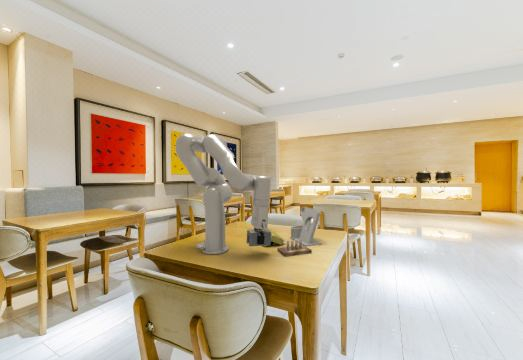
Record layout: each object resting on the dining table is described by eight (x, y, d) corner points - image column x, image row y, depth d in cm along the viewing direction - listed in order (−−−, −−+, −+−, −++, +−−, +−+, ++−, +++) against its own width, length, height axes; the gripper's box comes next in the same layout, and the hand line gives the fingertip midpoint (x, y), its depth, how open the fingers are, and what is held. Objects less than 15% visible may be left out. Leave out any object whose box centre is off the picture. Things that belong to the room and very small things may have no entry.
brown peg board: (284, 256, 106) (284, 244, 105) (277, 251, 113) (277, 239, 113) (311, 253, 110) (311, 241, 110) (303, 247, 118) (303, 237, 118)
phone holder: (288, 237, 136) (289, 206, 136) (303, 235, 140) (303, 205, 140) (305, 246, 120) (306, 211, 120) (322, 244, 124) (322, 210, 124)
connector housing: (249, 246, 104) (250, 232, 103) (246, 242, 108) (247, 229, 108) (270, 245, 107) (271, 231, 107) (266, 241, 112) (267, 228, 111)
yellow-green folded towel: (286, 240, 123) (270, 234, 119) (280, 253, 122) (264, 247, 118) (270, 229, 141) (256, 223, 137) (265, 240, 140) (251, 235, 136)
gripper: (247, 199, 113) (245, 236, 114) (259, 206, 97) (256, 249, 98) (262, 200, 116) (260, 236, 117) (275, 206, 100) (273, 248, 101)
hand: (258, 241), depth 107 cm, fingers closed on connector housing, 5 cm apart
